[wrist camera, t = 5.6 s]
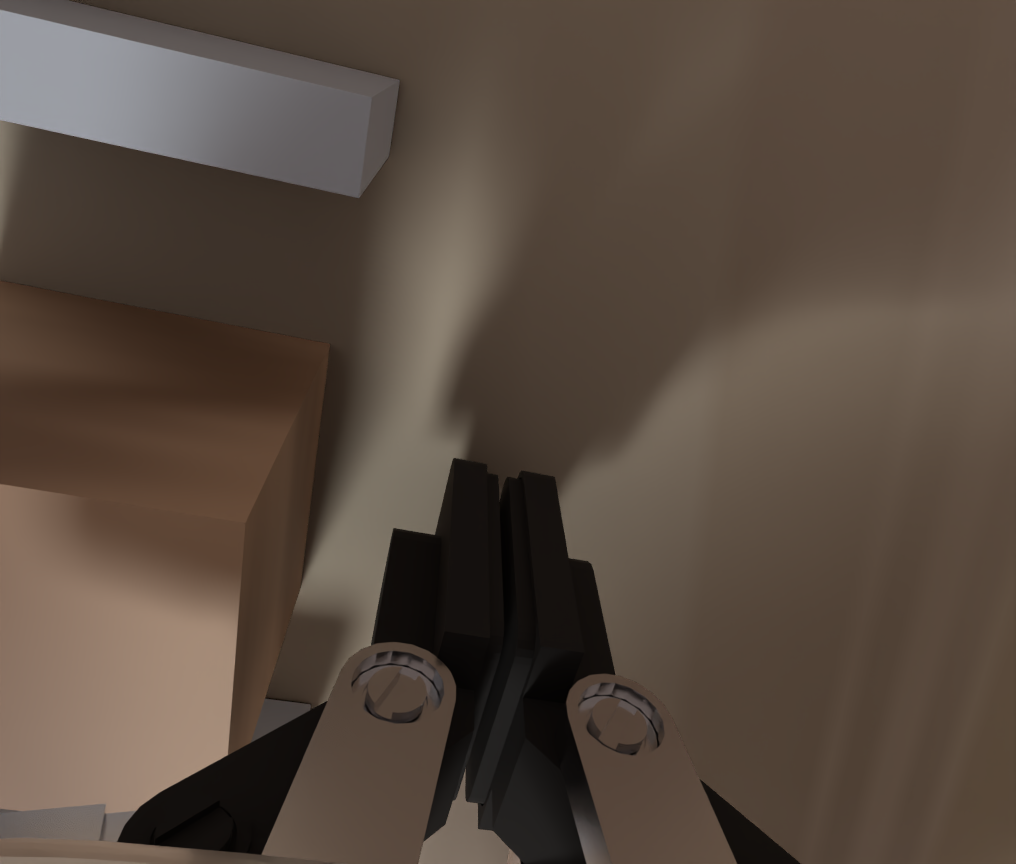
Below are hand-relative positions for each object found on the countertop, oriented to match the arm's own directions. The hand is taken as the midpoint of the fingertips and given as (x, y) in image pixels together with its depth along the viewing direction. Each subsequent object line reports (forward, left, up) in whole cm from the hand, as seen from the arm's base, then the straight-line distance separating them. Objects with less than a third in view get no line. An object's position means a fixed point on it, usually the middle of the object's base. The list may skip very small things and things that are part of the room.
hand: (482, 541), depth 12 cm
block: (+5, 0, -1) cm, 6 cm away
